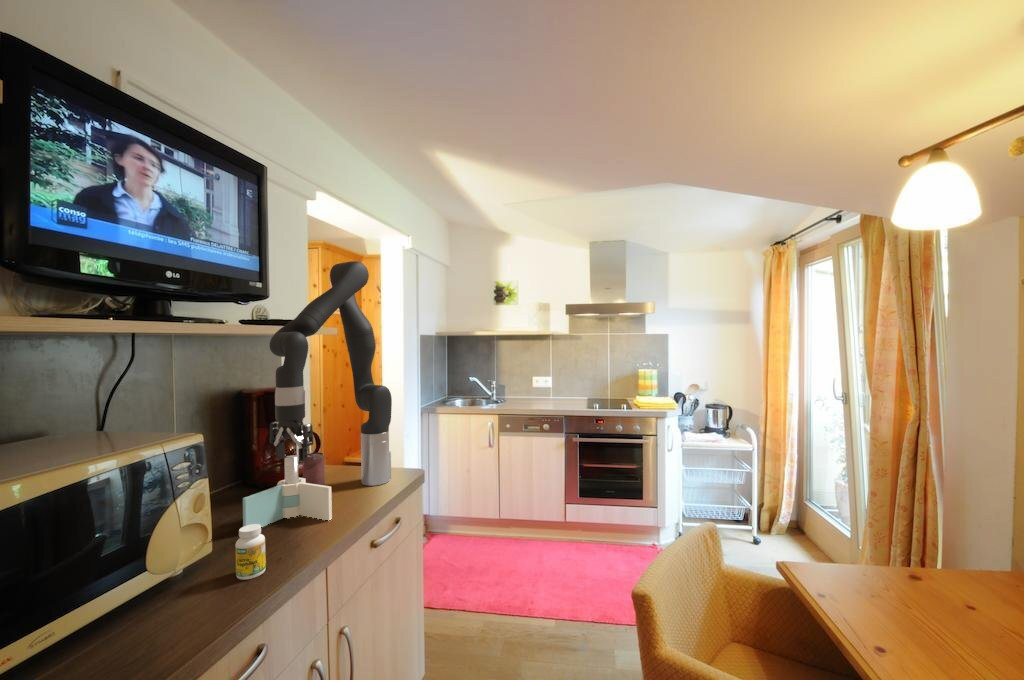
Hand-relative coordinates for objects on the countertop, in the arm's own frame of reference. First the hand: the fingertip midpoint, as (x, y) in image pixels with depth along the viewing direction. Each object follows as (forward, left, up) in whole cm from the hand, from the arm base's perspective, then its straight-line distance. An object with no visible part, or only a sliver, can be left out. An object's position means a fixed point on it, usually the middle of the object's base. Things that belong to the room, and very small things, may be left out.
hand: (291, 459), depth 125 cm
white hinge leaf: (0, +5, -15) cm, 16 cm away
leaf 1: (+5, 0, -15) cm, 16 cm away
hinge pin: (0, 0, -15) cm, 15 cm away
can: (-10, -3, -15) cm, 18 cm away
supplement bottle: (+27, +19, -15) cm, 37 cm away
